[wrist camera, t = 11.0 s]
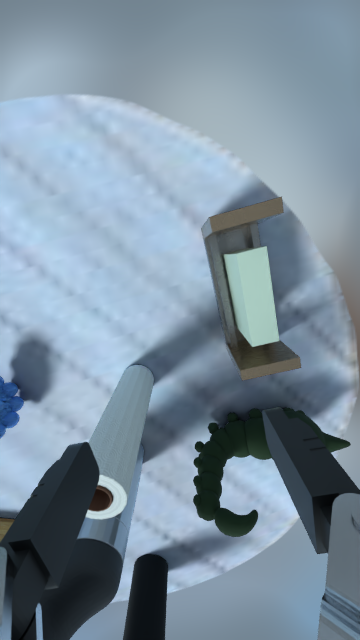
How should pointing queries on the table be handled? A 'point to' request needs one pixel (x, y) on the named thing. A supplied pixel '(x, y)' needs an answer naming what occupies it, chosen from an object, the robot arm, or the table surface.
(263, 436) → the toy figurine
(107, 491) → the paper towel roll
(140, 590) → the bottle
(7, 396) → the grapes
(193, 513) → the table surface
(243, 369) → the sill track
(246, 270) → the pale green rectangular block
